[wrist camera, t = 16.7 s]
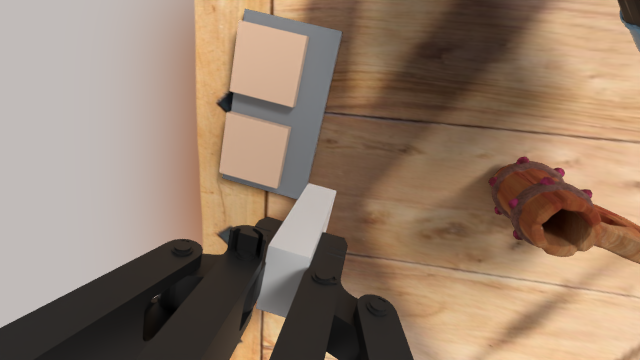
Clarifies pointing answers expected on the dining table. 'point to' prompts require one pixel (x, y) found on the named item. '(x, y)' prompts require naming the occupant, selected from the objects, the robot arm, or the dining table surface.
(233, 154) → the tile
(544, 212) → the mug
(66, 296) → the robot arm
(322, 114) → the slate board
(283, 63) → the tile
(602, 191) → the dining table surface
